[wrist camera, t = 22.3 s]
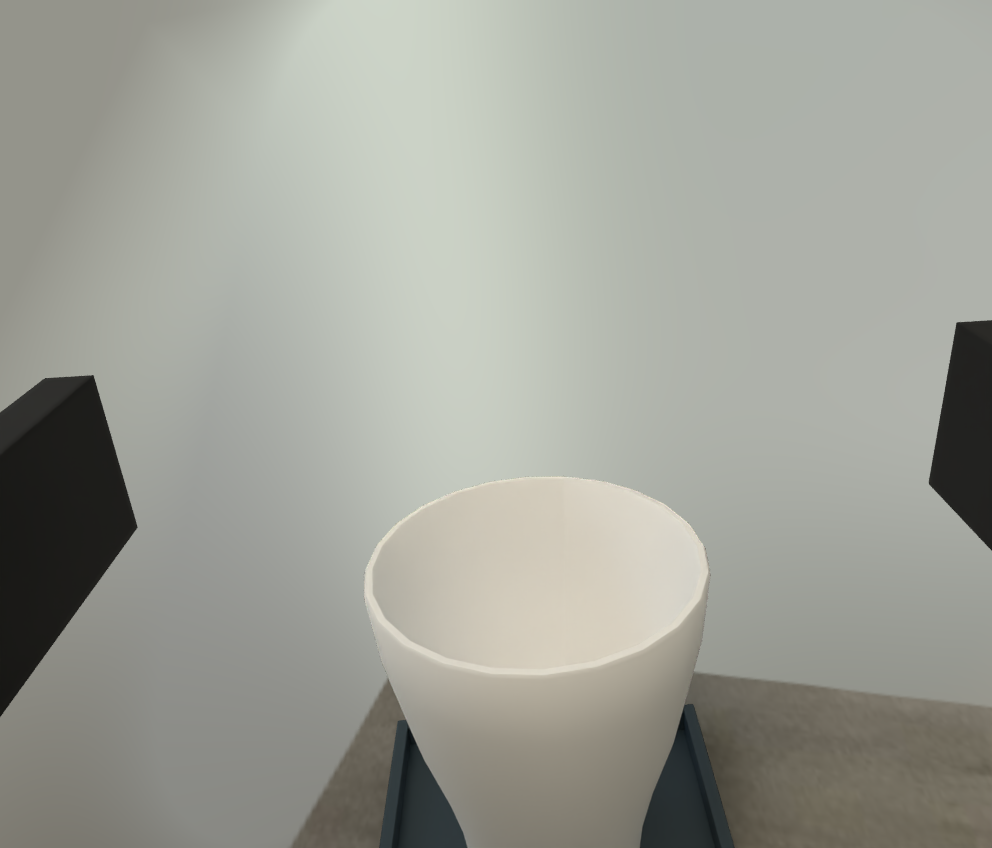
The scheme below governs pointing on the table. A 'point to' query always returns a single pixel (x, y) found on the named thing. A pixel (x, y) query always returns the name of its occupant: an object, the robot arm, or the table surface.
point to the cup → (541, 652)
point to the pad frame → (665, 832)
